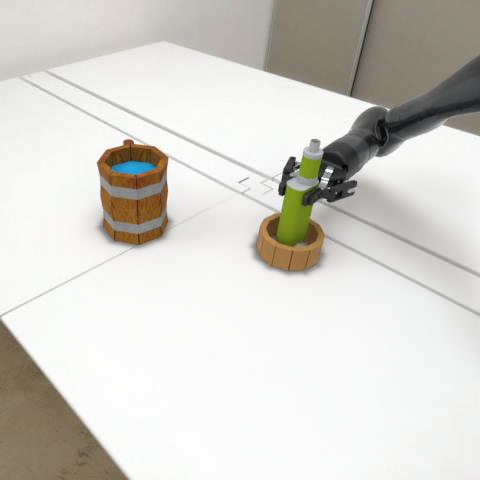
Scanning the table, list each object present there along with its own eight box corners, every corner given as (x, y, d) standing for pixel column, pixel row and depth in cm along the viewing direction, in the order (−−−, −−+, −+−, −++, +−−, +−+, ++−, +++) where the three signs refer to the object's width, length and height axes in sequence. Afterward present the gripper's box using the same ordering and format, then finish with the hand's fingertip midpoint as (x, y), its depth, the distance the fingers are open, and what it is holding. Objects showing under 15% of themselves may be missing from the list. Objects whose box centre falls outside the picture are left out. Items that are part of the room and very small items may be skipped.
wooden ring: (324, 241, 90) (329, 222, 87) (311, 278, 82) (317, 258, 79) (266, 226, 94) (270, 206, 91) (249, 259, 86) (252, 239, 83)
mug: (173, 241, 90) (174, 175, 80) (104, 247, 89) (97, 181, 79) (159, 188, 105) (159, 127, 96) (100, 193, 104) (94, 132, 94)
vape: (308, 237, 86) (332, 141, 74) (287, 250, 84) (309, 152, 71) (292, 228, 89) (313, 133, 76) (272, 240, 86) (290, 144, 73)
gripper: (311, 130, 89) (260, 162, 79) (383, 155, 81) (336, 194, 71) (304, 164, 93) (255, 198, 84) (371, 190, 86) (325, 231, 76)
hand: (292, 196), depth 78 cm, fingers closed on vape, 4 cm apart
